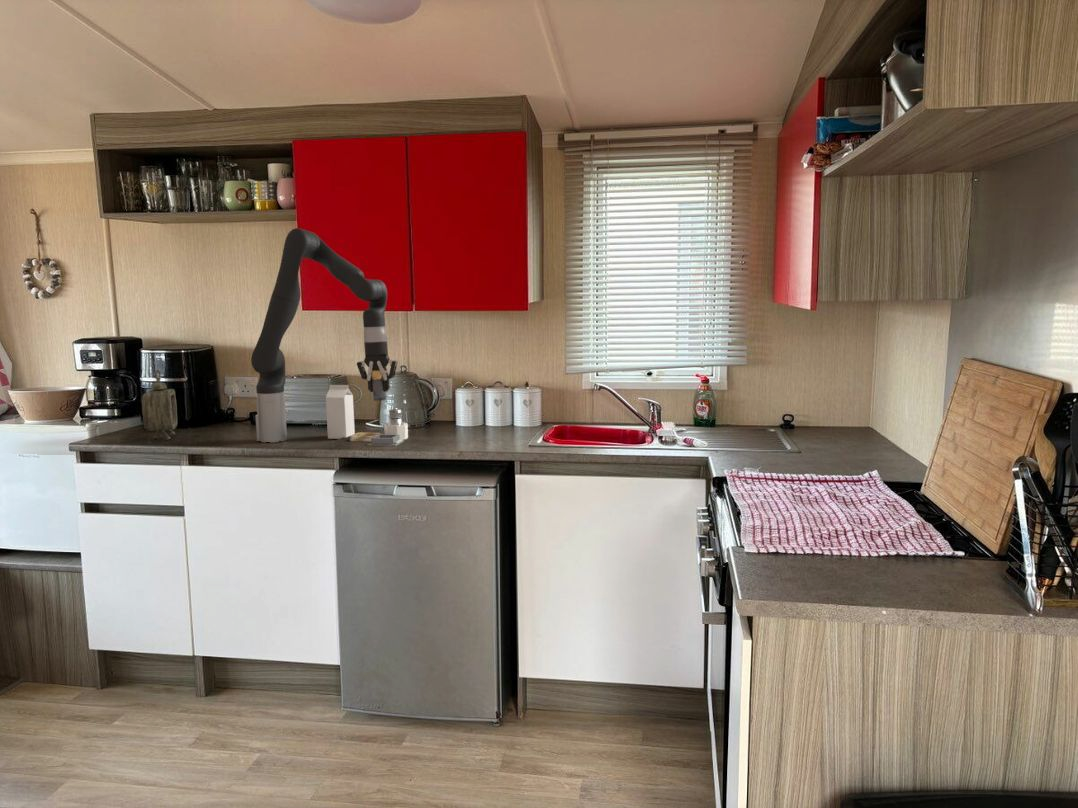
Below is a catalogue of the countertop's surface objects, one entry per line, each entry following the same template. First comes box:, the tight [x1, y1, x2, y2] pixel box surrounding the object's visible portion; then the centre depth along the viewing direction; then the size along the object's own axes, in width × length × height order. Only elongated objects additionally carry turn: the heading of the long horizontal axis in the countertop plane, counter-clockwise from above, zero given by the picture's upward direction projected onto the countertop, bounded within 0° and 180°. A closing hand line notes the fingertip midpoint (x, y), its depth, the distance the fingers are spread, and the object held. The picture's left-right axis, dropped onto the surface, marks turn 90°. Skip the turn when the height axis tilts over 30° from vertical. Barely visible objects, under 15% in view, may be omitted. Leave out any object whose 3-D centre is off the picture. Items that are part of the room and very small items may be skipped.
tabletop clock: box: [141, 369, 178, 440], centre depth 282 cm, size 14×9×25 cm, turn 16°
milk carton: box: [325, 384, 356, 440], centre depth 280 cm, size 7×7×19 cm
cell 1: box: [371, 370, 387, 402], centre depth 262 cm, size 4×4×11 cm
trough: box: [349, 432, 383, 442], centre depth 272 cm, size 9×7×2 cm
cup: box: [383, 421, 409, 441], centre depth 274 cm, size 7×7×6 cm
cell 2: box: [388, 407, 403, 426], centre depth 273 cm, size 4×4×11 cm
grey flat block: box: [366, 433, 405, 447], centre depth 265 cm, size 10×9×3 cm
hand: (379, 391), depth 262 cm, fingers closed on cell 1, 4 cm apart
